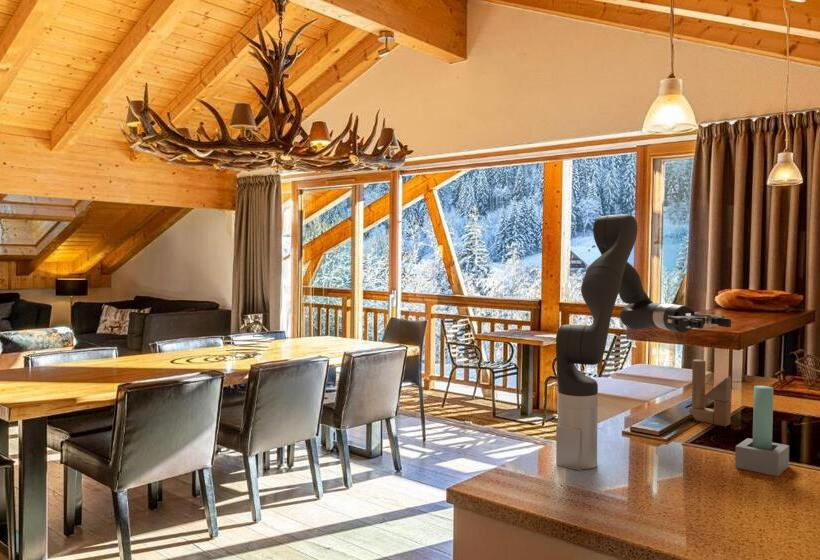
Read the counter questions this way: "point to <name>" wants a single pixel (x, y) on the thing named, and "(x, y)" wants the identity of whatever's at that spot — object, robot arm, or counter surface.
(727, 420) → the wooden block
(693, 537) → the counter surface
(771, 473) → the socket block
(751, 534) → the counter surface
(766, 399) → the peg
